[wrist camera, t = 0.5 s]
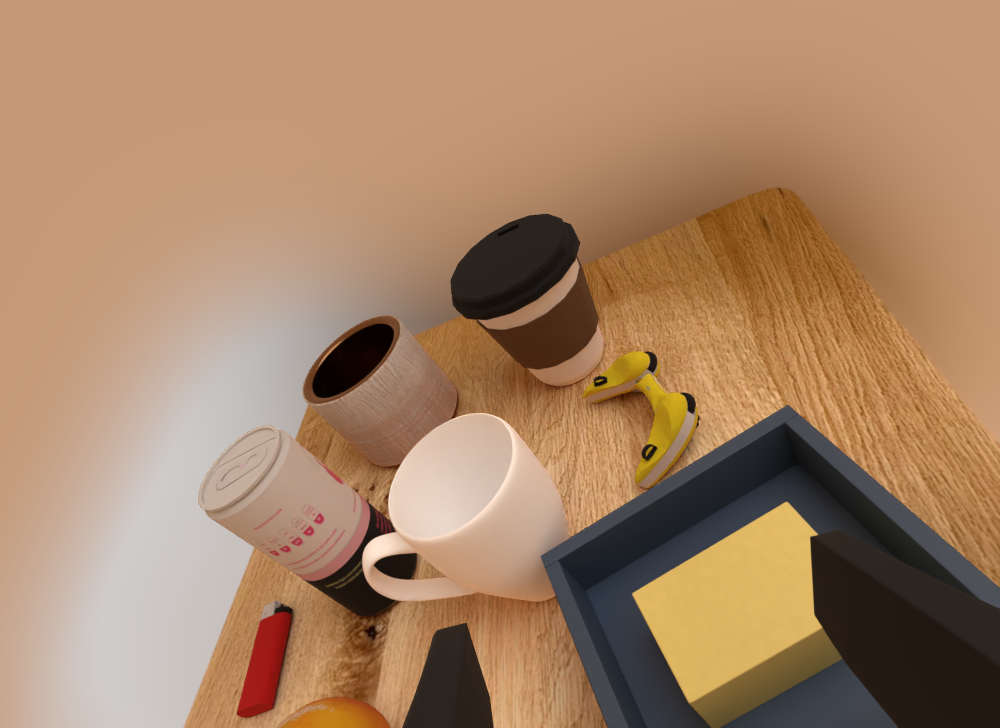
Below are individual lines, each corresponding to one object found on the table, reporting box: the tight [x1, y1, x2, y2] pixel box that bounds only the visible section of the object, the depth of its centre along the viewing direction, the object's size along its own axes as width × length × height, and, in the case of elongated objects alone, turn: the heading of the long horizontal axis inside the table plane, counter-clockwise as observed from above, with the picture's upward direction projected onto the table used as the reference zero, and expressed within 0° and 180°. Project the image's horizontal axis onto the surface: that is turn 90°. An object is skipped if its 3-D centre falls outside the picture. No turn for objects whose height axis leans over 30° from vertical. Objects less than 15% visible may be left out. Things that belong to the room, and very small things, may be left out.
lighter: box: [237, 601, 293, 717], centre depth 44 cm, size 3×1×8 cm
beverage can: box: [198, 425, 417, 616], centre depth 40 cm, size 6×7×15 cm
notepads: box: [632, 502, 843, 728], centre depth 25 cm, size 5×8×4 cm, turn 107°
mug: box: [362, 413, 570, 602], centre depth 34 cm, size 12×8×11 cm
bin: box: [541, 405, 1000, 728], centre depth 26 cm, size 14×15×7 cm
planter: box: [303, 315, 457, 467], centre depth 53 cm, size 11×11×10 cm
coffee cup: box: [451, 214, 604, 387], centre depth 47 cm, size 11×11×12 cm
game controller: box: [583, 351, 700, 489], centre depth 40 cm, size 10×6×4 cm, turn 16°
